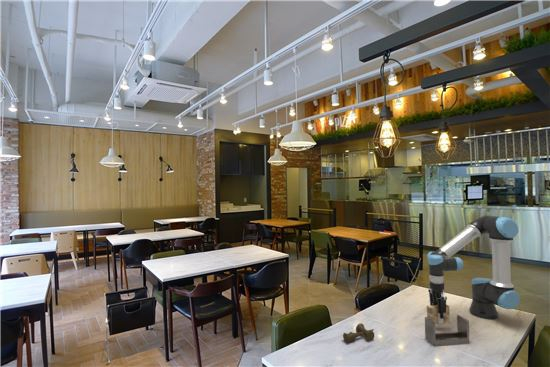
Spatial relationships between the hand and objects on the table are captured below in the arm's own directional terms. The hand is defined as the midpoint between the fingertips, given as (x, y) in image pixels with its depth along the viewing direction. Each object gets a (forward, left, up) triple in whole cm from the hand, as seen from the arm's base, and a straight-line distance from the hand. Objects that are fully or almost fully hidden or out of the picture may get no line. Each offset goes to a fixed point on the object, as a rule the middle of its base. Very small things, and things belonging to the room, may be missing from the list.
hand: (438, 321), depth 169 cm
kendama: (+50, +4, -5) cm, 50 cm away
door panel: (0, 0, -1) cm, 1 cm away
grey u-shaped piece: (+5, +13, -4) cm, 14 cm away
